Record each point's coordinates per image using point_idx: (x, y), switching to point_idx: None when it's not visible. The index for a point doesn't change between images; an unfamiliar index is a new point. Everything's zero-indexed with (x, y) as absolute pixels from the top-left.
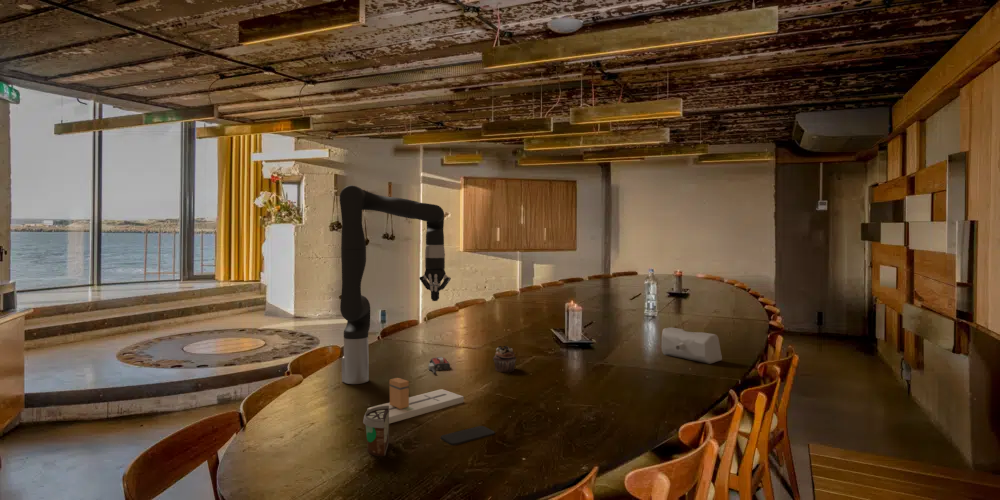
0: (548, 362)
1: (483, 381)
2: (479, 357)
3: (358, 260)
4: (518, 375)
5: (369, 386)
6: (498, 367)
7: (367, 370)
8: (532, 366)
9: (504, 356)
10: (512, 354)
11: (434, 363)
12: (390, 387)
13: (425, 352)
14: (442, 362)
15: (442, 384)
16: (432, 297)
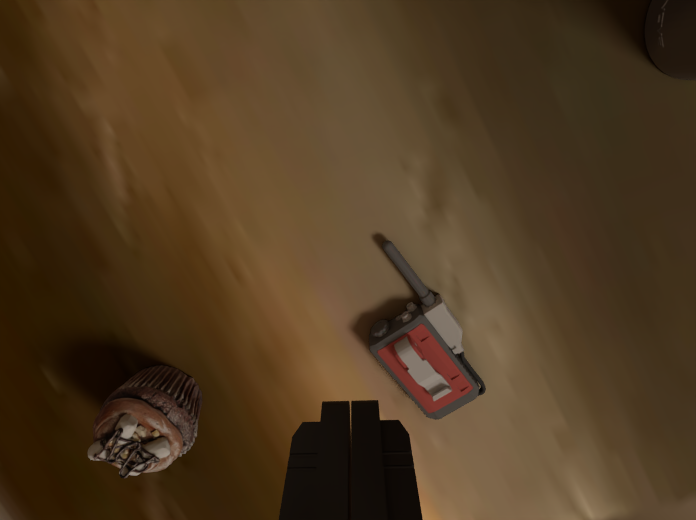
0: (79, 516)
1: (153, 225)
2: None
3: None
4: (78, 344)
5: None
6: (168, 376)
7: (680, 22)
8: None
9: (115, 402)
10: (94, 430)
11: (433, 333)
12: None
13: (565, 508)
14: (398, 342)
15: (287, 122)
16: (375, 432)
